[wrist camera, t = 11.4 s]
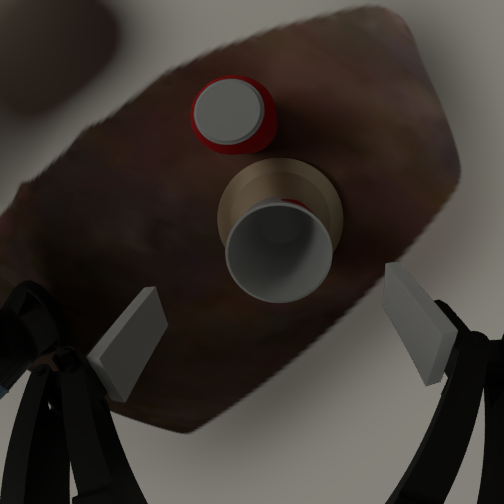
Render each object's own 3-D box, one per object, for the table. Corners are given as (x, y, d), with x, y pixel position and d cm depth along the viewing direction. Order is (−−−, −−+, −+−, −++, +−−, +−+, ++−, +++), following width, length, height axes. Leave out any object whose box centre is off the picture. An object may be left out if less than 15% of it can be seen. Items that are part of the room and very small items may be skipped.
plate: (230, 281, 34) (228, 285, 34) (209, 167, 30) (207, 168, 29) (344, 270, 32) (345, 274, 31) (336, 151, 28) (337, 151, 27)
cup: (330, 233, 30) (350, 270, 21) (269, 270, 32) (264, 318, 23) (290, 171, 28) (295, 180, 19) (228, 212, 30) (204, 241, 21)
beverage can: (212, 112, 27) (171, 91, 16) (265, 91, 26) (255, 56, 15) (232, 161, 29) (201, 168, 18) (286, 142, 28) (288, 136, 17)
